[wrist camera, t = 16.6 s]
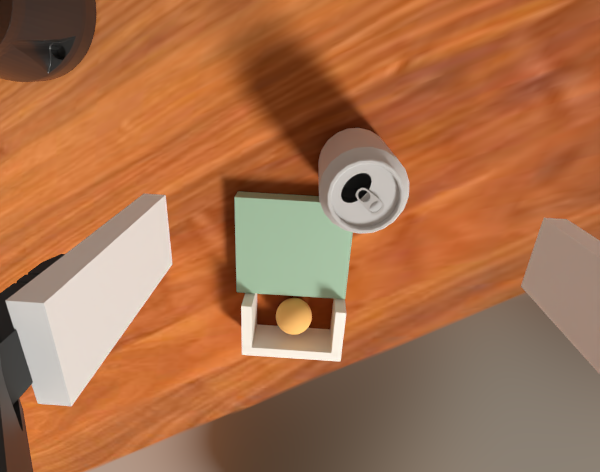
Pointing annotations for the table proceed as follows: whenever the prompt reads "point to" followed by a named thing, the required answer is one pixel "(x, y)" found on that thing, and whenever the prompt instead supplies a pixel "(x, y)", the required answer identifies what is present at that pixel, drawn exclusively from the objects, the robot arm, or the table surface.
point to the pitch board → (289, 247)
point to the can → (361, 181)
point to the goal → (292, 346)
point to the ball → (293, 316)
